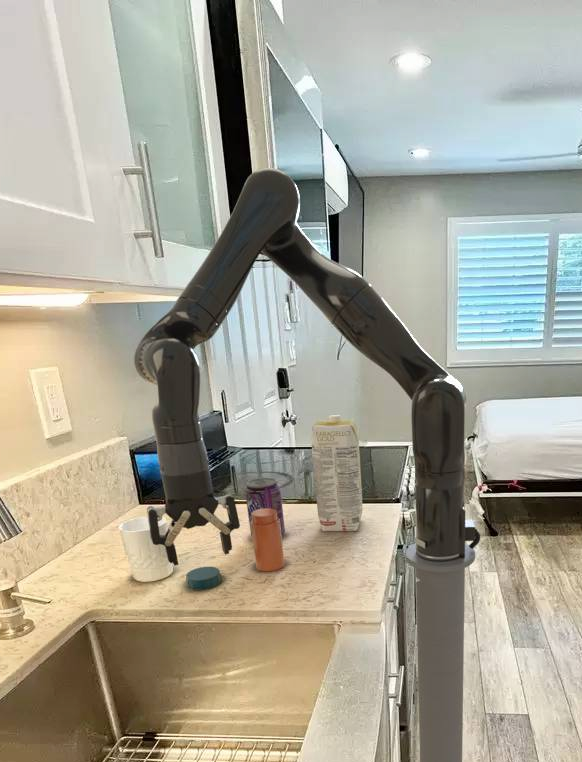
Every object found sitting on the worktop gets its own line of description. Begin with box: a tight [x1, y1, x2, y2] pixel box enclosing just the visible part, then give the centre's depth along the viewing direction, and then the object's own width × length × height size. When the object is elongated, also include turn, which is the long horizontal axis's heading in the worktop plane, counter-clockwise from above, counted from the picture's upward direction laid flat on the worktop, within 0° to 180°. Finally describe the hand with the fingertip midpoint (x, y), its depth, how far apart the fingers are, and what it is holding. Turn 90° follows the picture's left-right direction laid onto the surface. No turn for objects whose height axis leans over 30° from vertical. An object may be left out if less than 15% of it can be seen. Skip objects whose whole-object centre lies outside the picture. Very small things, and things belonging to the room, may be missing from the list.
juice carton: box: [311, 414, 363, 532], centre depth 120 cm, size 9×8×24 cm
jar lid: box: [185, 566, 222, 591], centre depth 100 cm, size 6×6×2 cm
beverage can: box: [244, 477, 286, 537], centre depth 119 cm, size 7×7×12 cm
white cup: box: [118, 515, 174, 583], centre depth 103 cm, size 8×8×10 cm
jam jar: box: [249, 508, 286, 572], centre depth 105 cm, size 5×5×11 cm
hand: (201, 558), depth 99 cm, fingers open, 8 cm apart
